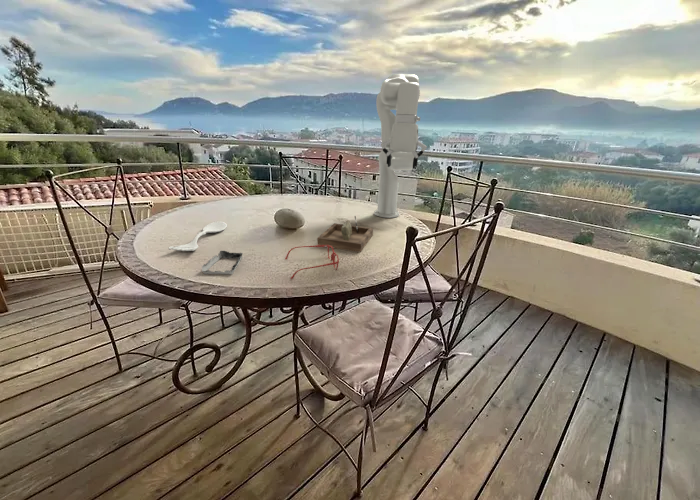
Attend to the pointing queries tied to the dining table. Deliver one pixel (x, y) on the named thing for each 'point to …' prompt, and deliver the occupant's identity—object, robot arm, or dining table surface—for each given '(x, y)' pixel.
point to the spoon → (207, 229)
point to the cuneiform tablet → (347, 229)
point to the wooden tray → (354, 244)
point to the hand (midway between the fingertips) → (401, 167)
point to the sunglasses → (319, 265)
